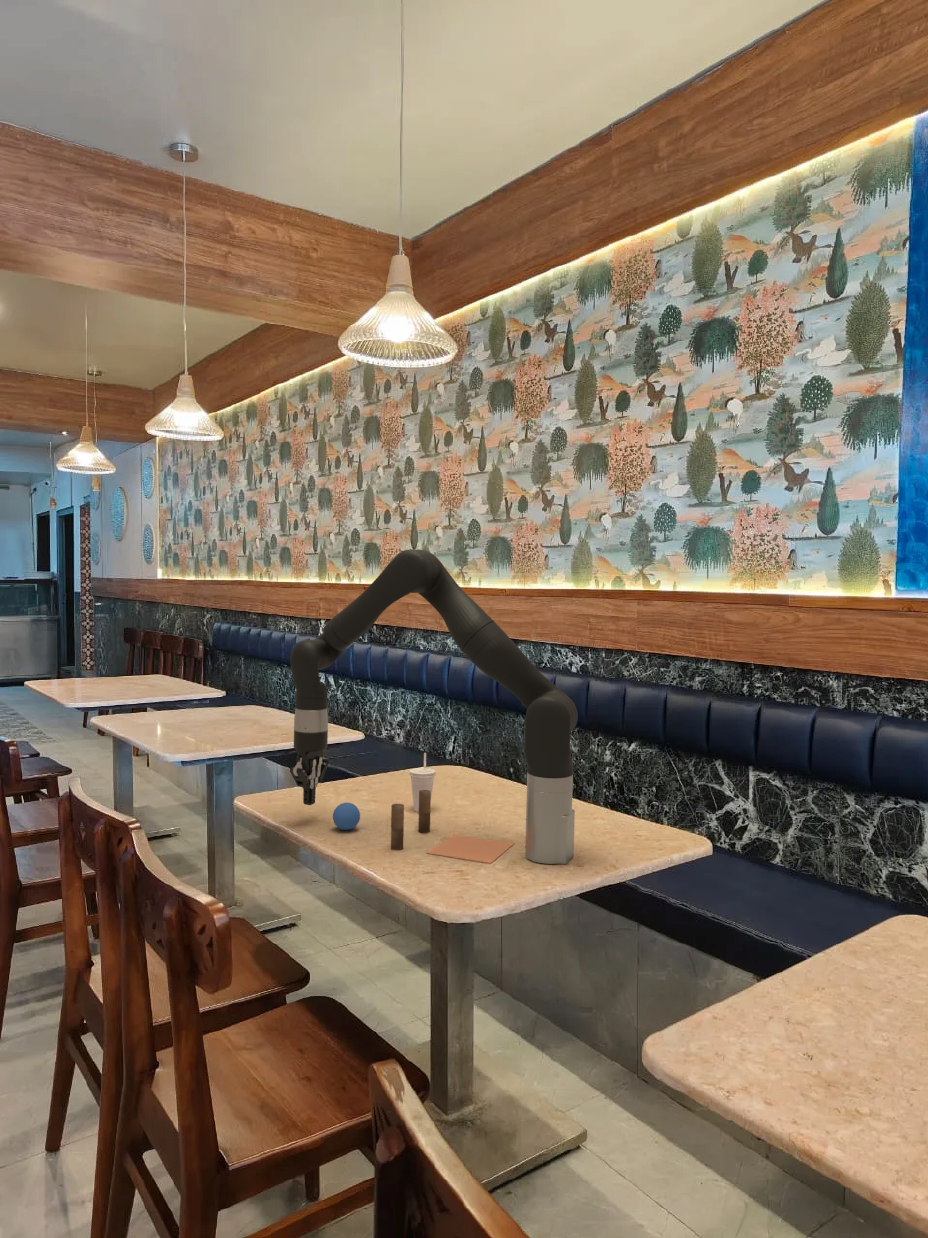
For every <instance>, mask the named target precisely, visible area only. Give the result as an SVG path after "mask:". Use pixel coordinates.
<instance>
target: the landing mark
mask: <svg viewBox="0 0 928 1238" xmlns="http://www.w3.org/2000/svg"><path fill="white" fill-rule="evenodd" d="M514 845H515V843H514V842H508V841H501V840H494V839H487V838H480V837H474V836H467V835H460V834H454V833H453V834H452V835H451V836H449V837H448V838H446V839H445V840H443V841H441V842H440V843H439V844H437V845H436V846H434V847H433V848H431V849H430V850H428V851H427V852H426V854H427V855H432V856H438V857H444V858H445V857H446V858H450V859H451V858H452V859H458V860H465V861H469V860H470V861H471V862H476V863H482V864H489V865H491V864H493V863H494V862H495V861H496V860H498V859H499V858H500V857H501V856H502V855H503V854H504V853H506V852H507V851H508V850H509V849H510V848H512V847H513V846H514Z"/></svg>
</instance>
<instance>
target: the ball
mask: <svg viewBox="0 0 928 1238" xmlns="http://www.w3.org/2000/svg"><path fill="white" fill-rule="evenodd" d="M332 820H333V824H334V825H335V826H336V827H337V829H339V830H343V831H350V830H353V829H354V828H356V827H357V826H358V824H359V823H360V820H361V812H360V809H359V808H358V806H356V805H355V804H354V803H351V802H342V803H340V804H338V805H337V806H336V807H335V809H333V813H332Z"/></svg>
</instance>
